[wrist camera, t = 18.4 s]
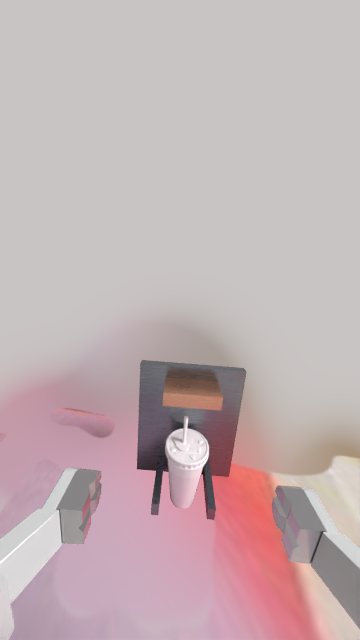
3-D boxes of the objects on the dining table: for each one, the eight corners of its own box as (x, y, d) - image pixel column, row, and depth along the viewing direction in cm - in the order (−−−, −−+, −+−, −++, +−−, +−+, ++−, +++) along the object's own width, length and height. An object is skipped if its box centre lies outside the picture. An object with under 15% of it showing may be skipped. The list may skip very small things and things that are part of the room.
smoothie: (173, 468, 36) (179, 399, 32) (208, 487, 33) (218, 413, 30) (153, 504, 30) (158, 424, 27) (193, 530, 27) (203, 445, 24)
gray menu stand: (126, 512, 29) (128, 387, 24) (138, 462, 36) (142, 360, 32) (238, 521, 29) (262, 398, 24) (227, 469, 36) (244, 368, 31)
